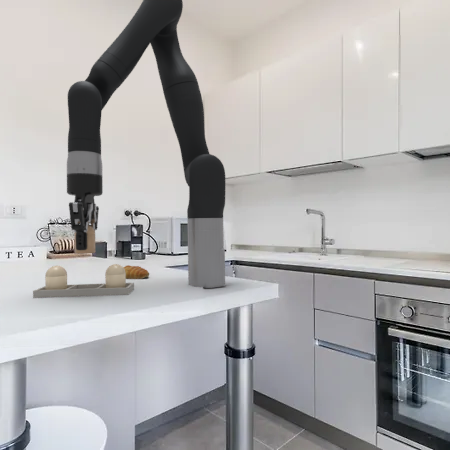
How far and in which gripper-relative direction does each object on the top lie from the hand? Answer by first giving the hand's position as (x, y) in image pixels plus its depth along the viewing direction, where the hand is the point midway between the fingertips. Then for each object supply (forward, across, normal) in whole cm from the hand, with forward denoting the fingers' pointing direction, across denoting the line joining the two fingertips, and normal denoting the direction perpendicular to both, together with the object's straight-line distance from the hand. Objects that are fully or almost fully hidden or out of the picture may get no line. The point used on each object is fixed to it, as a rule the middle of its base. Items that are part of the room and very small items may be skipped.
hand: (85, 249), depth 78 cm
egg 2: (+1, 0, 0) cm, 1 cm away
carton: (+10, 0, 0) cm, 10 cm away
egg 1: (+10, 0, +6) cm, 12 cm away
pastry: (+11, +28, -6) cm, 30 cm away
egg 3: (+10, 0, -7) cm, 12 cm away
